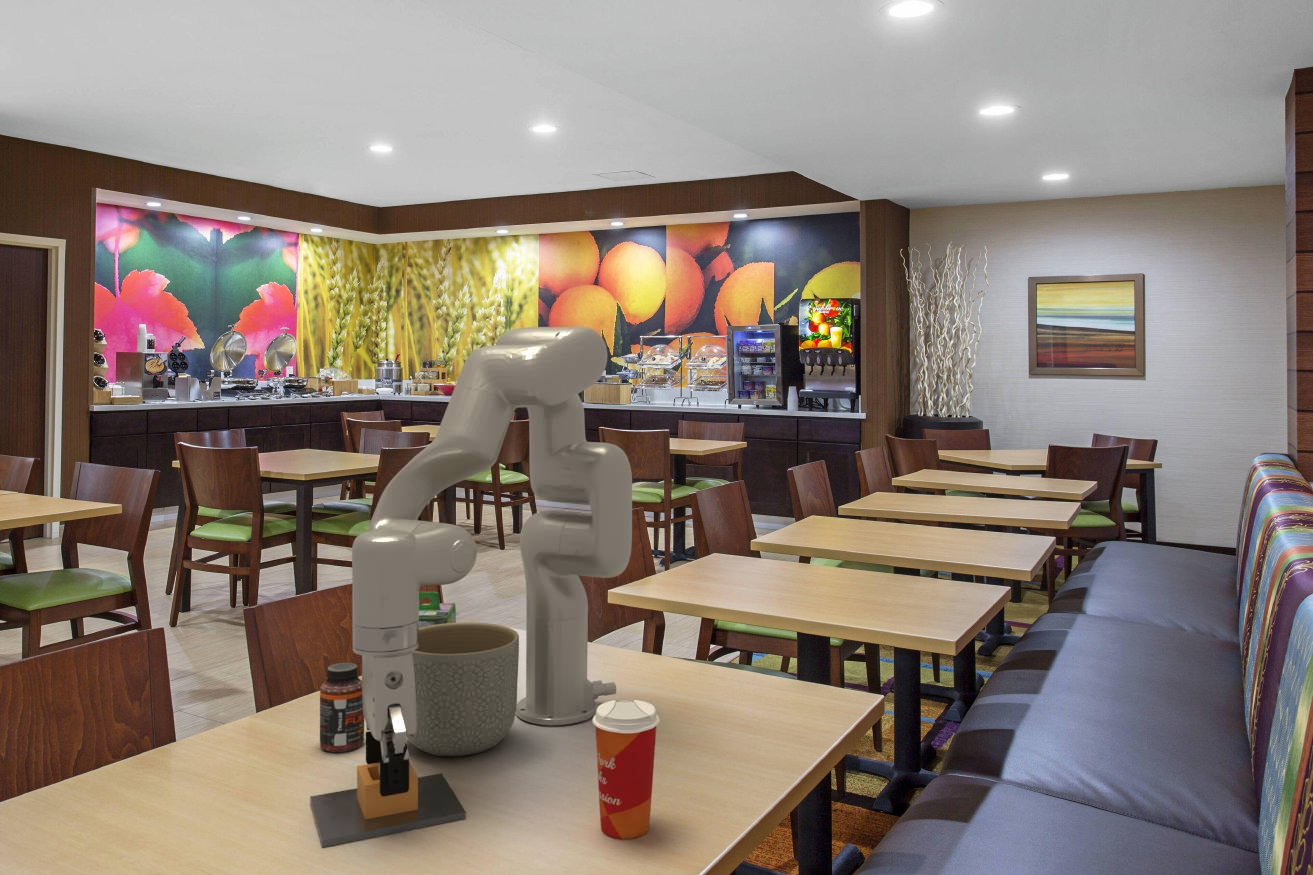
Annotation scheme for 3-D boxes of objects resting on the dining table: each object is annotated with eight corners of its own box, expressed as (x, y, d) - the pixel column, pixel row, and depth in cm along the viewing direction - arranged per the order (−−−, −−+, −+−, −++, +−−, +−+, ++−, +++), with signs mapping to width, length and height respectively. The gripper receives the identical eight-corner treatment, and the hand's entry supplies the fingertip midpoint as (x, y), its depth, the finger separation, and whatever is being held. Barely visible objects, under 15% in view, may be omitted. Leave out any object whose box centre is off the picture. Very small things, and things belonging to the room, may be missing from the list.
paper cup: (591, 813, 110) (592, 698, 109) (655, 811, 111) (656, 696, 110) (592, 845, 102) (593, 722, 102) (661, 843, 103) (662, 720, 102)
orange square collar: (407, 789, 114) (407, 757, 114) (417, 809, 109) (417, 776, 109) (357, 798, 112) (357, 765, 111) (365, 819, 106) (365, 785, 106)
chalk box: (457, 665, 168) (457, 584, 167) (448, 681, 159) (448, 596, 158) (406, 665, 167) (405, 584, 166) (394, 681, 158) (393, 596, 157)
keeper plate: (441, 779, 119) (441, 735, 119) (465, 818, 108) (465, 770, 108) (310, 802, 112) (309, 756, 112) (322, 847, 101) (321, 795, 101)
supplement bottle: (350, 755, 126) (350, 674, 126) (311, 751, 127) (310, 671, 127) (372, 739, 132) (372, 661, 132) (334, 735, 133) (334, 658, 133)
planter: (464, 777, 120) (464, 661, 119) (370, 751, 128) (370, 642, 127) (542, 735, 134) (542, 631, 134) (453, 714, 143) (453, 616, 142)
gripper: (434, 651, 103) (434, 800, 104) (403, 615, 118) (404, 746, 119) (365, 659, 100) (366, 813, 101) (342, 621, 115) (343, 756, 116)
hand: (386, 776), depth 110 cm, fingers open, 9 cm apart
